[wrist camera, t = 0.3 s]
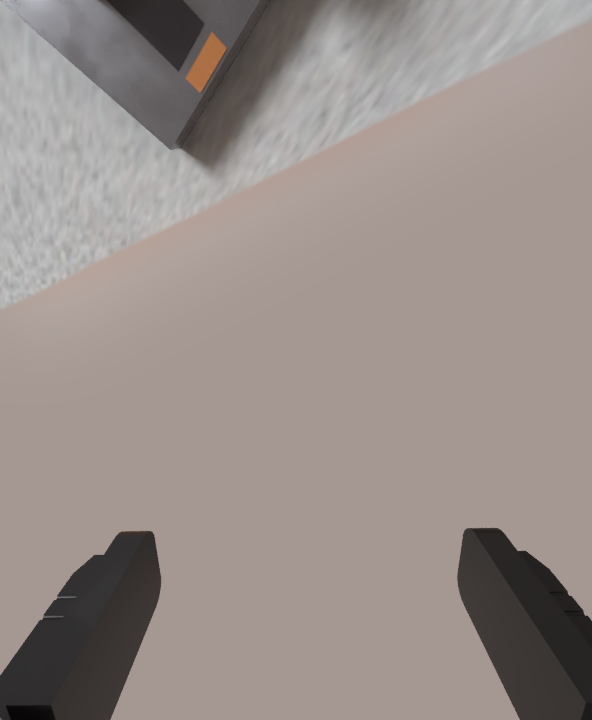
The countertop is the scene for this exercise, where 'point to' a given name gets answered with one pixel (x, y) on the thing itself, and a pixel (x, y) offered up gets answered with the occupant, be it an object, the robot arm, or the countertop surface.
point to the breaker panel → (149, 51)
